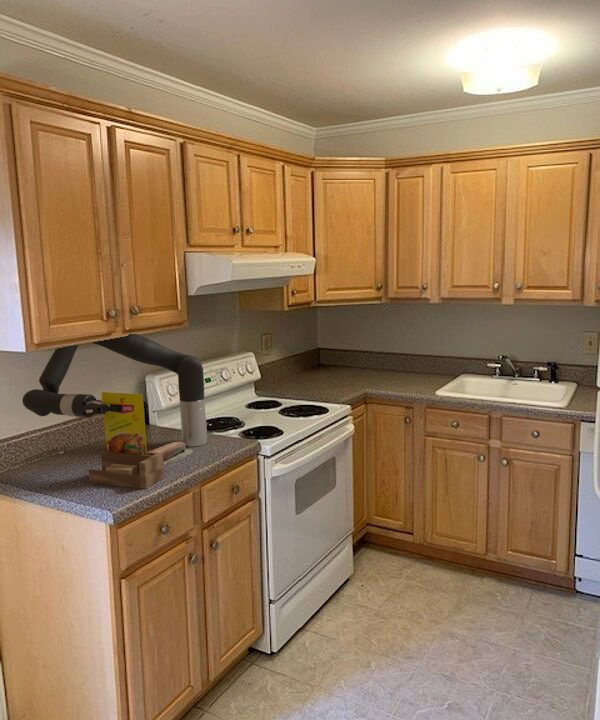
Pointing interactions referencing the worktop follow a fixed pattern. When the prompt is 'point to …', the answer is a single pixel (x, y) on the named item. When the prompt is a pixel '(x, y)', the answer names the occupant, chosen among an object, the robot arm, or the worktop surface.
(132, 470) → the upper pine offcut
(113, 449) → the food package
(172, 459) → the packaged product
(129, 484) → the walnut rack
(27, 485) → the worktop surface
